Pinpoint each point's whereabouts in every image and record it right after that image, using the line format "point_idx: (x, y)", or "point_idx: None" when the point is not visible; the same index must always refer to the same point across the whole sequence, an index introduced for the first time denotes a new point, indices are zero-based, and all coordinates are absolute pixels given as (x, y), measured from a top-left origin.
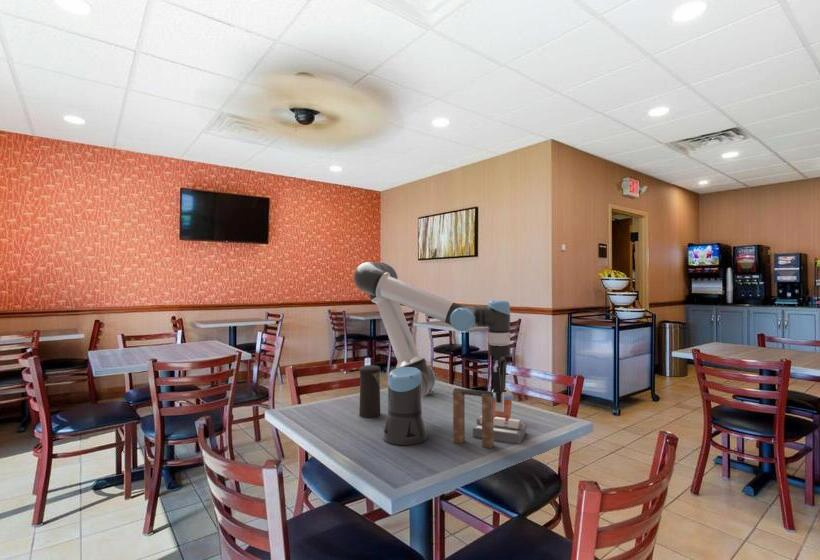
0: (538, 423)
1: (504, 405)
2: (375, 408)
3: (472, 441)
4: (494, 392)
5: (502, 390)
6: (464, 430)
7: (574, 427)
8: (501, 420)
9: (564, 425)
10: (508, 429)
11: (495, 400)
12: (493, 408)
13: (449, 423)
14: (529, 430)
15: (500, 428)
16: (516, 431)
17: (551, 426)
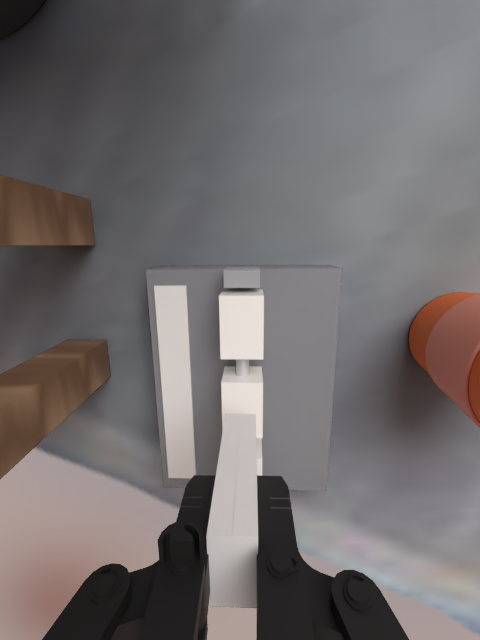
0: (474, 488)
1: (467, 411)
2: None
3: (102, 283)
4: (170, 541)
5: (257, 622)
6: (65, 244)
7: (460, 605)
8: (222, 421)
9: (476, 575)
10: (213, 435)
11: (217, 468)
12: (468, 319)
13: (315, 54)
14: (357, 469)
15: (211, 399)
16: (193, 474)
17: (446, 536)
